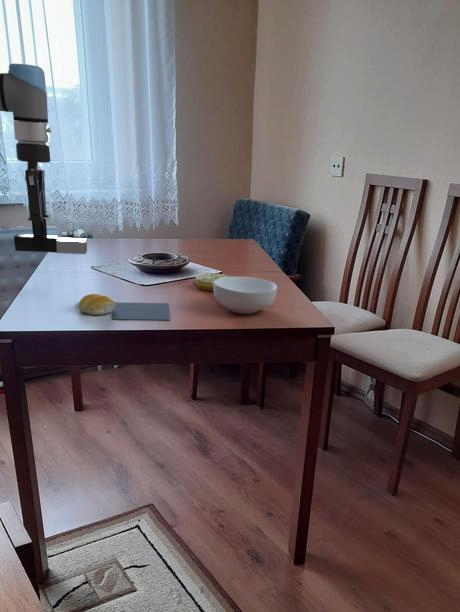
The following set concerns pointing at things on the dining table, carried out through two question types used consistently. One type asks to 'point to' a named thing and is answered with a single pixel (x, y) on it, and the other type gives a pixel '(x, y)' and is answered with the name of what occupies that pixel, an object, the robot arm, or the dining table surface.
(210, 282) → the decorated donut
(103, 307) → the bread roll
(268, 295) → the cereal bowl
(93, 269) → the dining table surface
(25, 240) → the black and grey bar
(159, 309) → the placemat
